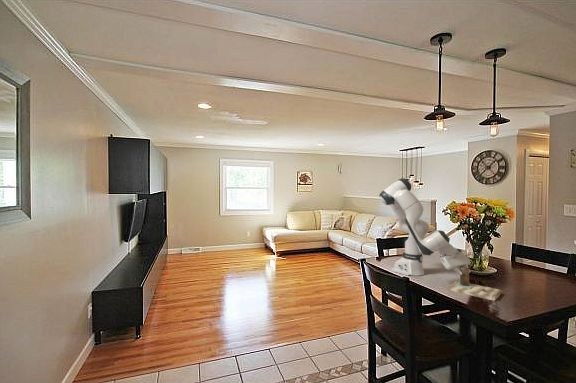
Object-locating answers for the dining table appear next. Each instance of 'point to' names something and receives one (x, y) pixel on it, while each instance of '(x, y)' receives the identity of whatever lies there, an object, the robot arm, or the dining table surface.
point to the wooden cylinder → (464, 276)
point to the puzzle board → (477, 291)
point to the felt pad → (464, 286)
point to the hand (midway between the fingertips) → (465, 273)
